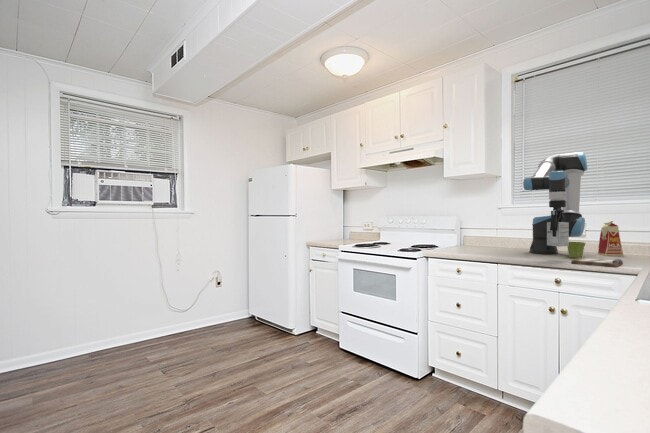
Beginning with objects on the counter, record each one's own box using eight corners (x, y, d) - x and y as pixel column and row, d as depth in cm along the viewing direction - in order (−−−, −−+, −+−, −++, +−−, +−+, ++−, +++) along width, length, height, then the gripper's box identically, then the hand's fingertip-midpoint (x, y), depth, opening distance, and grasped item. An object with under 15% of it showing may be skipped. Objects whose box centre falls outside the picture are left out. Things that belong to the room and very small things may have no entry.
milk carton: (623, 255, 206) (623, 221, 205) (605, 255, 208) (605, 221, 207) (614, 253, 215) (614, 220, 214) (596, 253, 216) (596, 220, 216)
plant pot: (578, 256, 207) (578, 241, 206) (590, 258, 197) (590, 242, 197) (561, 256, 207) (561, 241, 206) (573, 259, 197) (573, 243, 197)
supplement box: (546, 245, 195) (546, 222, 195) (556, 244, 198) (556, 221, 197) (559, 246, 188) (558, 222, 188) (569, 245, 191) (569, 222, 190)
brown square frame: (571, 263, 182) (571, 258, 182) (579, 260, 192) (579, 255, 192) (616, 267, 168) (616, 262, 168) (622, 263, 178) (622, 258, 178)
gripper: (559, 200, 182) (559, 244, 183) (571, 199, 197) (571, 240, 197) (542, 200, 188) (543, 243, 188) (555, 199, 202) (556, 239, 203)
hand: (557, 241), depth 193 cm, fingers closed on supplement box, 9 cm apart
